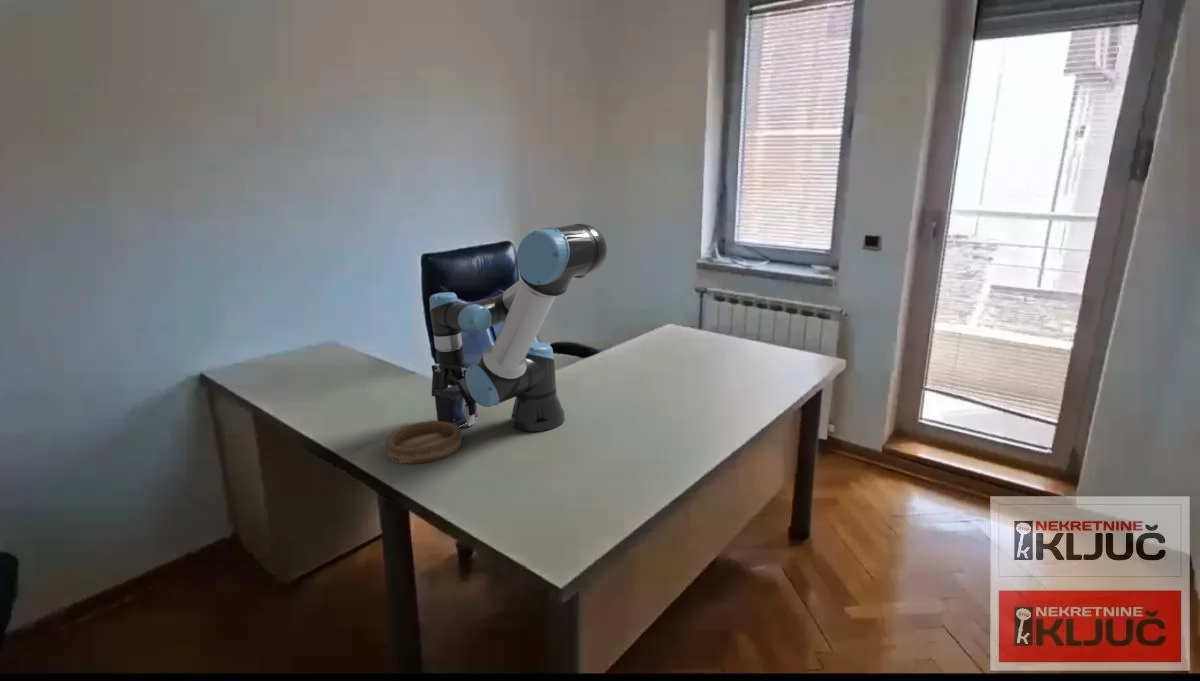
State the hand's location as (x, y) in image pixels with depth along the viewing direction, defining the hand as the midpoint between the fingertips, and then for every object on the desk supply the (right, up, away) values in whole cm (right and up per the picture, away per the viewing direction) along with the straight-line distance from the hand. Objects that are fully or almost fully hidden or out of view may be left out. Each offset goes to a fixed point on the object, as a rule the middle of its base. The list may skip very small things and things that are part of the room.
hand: (458, 422), depth 179 cm
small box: (0, 0, 0) cm, 1 cm away
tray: (-5, -5, -16) cm, 17 cm away
